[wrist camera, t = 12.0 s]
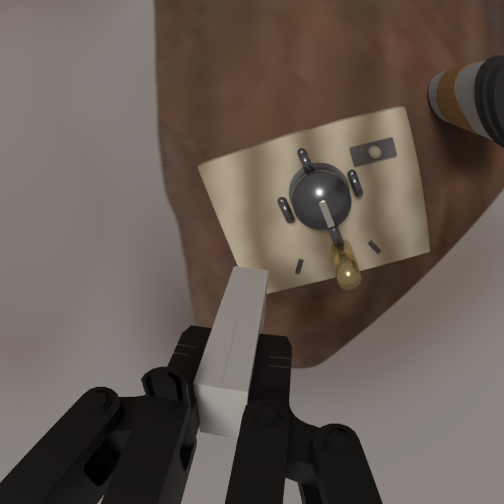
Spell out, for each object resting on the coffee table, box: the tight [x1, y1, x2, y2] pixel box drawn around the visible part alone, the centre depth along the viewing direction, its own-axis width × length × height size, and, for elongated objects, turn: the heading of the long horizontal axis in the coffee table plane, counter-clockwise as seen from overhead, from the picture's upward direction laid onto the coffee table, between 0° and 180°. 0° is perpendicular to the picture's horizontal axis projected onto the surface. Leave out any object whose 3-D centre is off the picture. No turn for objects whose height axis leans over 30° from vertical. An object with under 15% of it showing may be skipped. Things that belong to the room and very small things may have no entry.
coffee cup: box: [428, 56, 504, 147], centre depth 22 cm, size 8×8×15 cm
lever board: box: [197, 106, 430, 294], centre depth 35 cm, size 24×18×4 cm
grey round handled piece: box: [277, 148, 363, 290], centre depth 31 cm, size 14×9×7 cm, turn 26°
